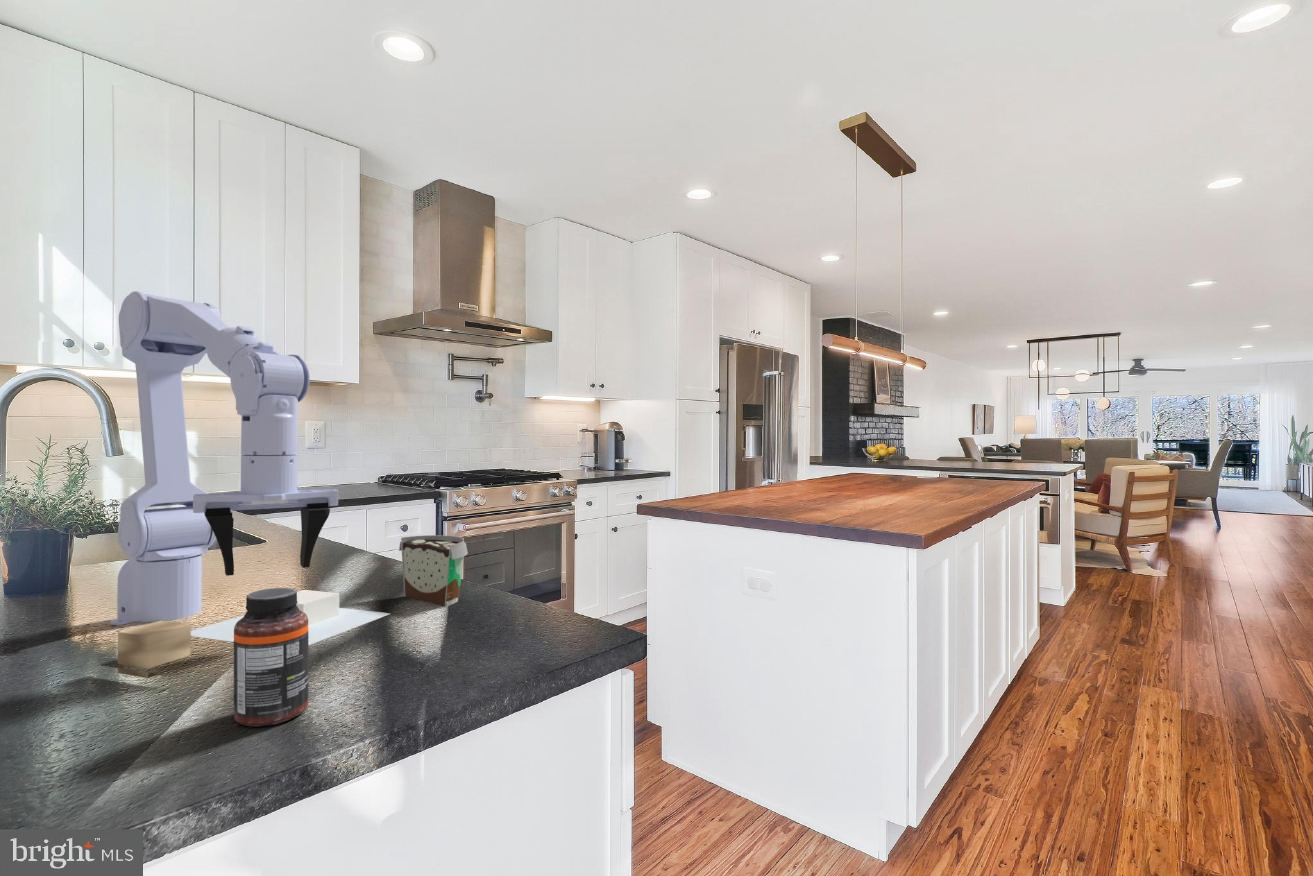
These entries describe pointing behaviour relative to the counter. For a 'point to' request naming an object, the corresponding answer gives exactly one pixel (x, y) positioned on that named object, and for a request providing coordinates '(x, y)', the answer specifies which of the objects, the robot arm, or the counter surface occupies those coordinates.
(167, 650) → the maple block
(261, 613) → the supplement bottle
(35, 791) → the counter surface
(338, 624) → the white flat panel
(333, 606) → the base block
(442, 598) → the food container
